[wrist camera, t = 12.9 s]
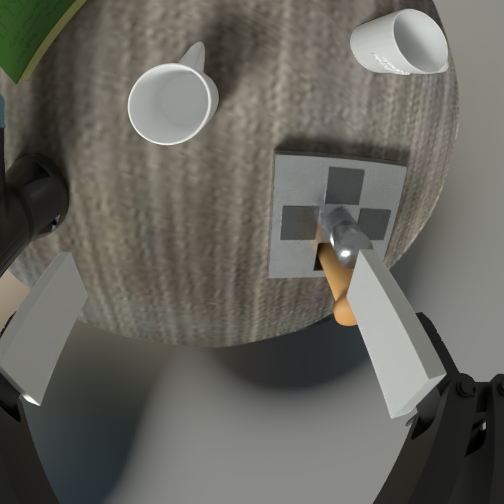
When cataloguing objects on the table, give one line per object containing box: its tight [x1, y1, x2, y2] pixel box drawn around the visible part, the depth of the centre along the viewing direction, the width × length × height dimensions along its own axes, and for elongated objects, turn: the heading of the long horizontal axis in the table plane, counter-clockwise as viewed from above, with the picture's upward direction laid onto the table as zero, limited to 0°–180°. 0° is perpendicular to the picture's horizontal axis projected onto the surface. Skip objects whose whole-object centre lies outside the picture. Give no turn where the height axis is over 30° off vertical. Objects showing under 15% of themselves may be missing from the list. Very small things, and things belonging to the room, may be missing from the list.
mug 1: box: [128, 42, 219, 145], centre depth 26 cm, size 9×12×11 cm
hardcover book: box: [0, 0, 87, 84], centre depth 16 cm, size 25×19×4 cm
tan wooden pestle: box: [317, 243, 357, 326], centre depth 39 cm, size 6×6×15 cm
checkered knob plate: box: [267, 150, 407, 278], centre depth 38 cm, size 20×20×11 cm
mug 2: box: [350, 9, 449, 75], centre depth 23 cm, size 8×12×12 cm
